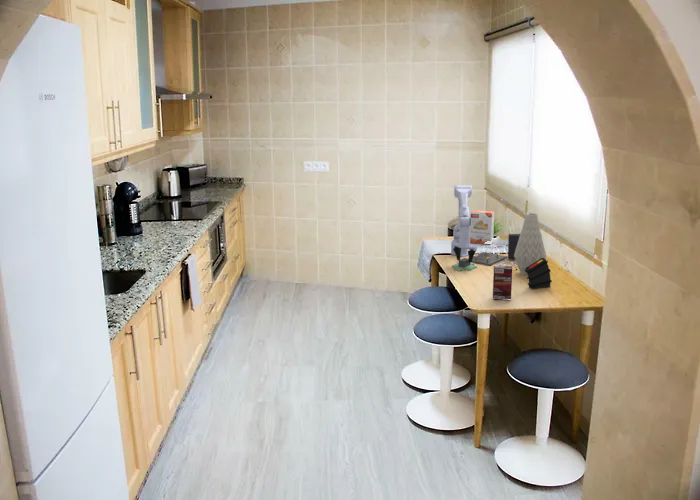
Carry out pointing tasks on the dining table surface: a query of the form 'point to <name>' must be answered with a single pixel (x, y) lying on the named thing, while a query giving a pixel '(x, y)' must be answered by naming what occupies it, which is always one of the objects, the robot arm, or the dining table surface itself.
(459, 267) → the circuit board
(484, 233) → the cracker box
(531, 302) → the dining table surface
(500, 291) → the supplement box
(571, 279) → the dining table surface
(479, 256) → the chassis plate
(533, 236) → the vase
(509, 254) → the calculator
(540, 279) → the magazine
